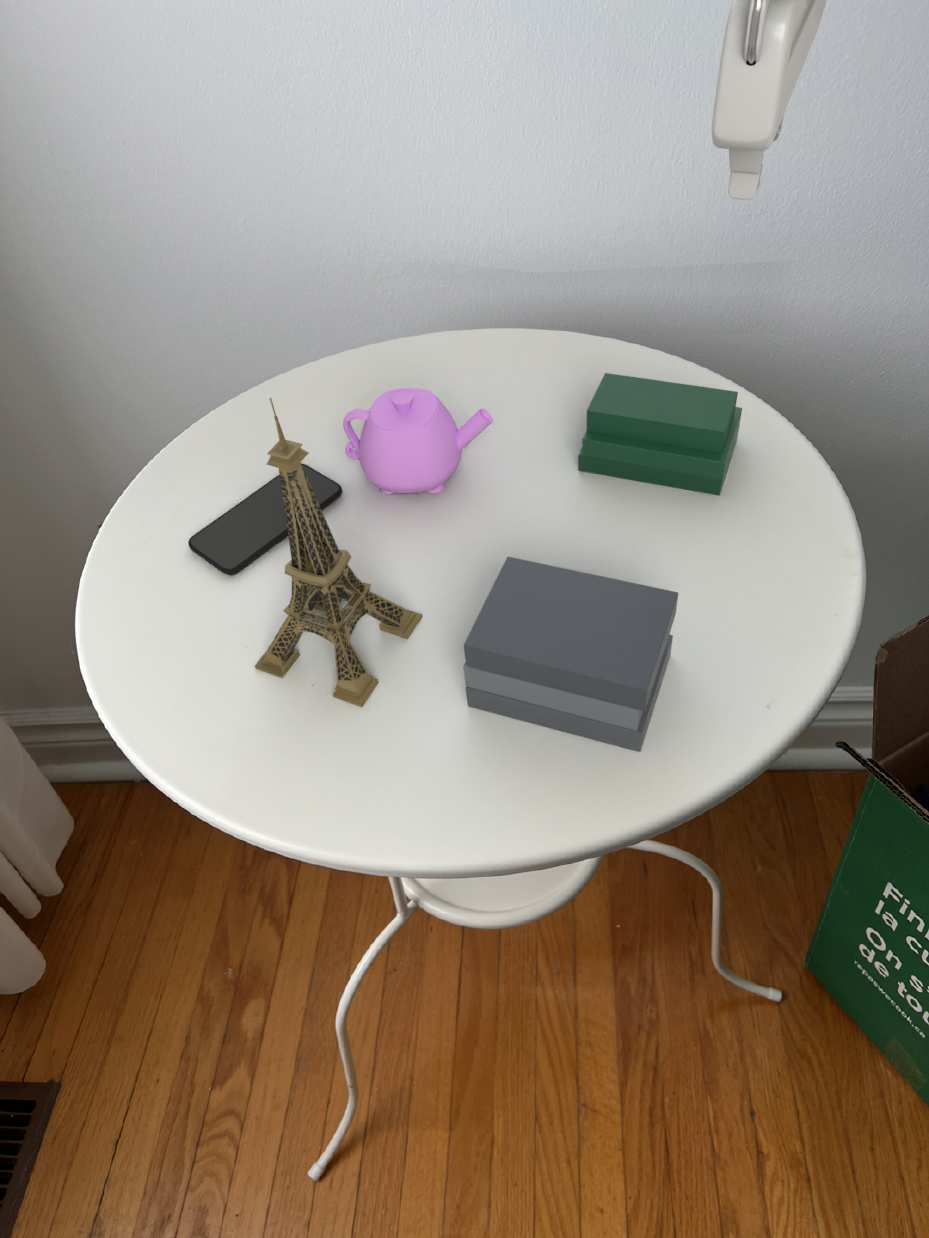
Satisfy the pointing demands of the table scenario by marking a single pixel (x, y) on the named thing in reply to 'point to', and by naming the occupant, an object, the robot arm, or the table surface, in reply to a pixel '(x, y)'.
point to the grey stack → (570, 651)
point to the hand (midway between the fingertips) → (755, 165)
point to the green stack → (659, 461)
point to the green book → (662, 412)
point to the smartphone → (255, 524)
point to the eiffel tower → (323, 586)
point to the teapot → (410, 440)
